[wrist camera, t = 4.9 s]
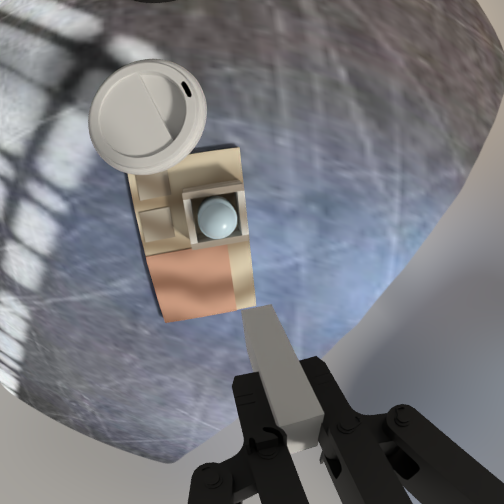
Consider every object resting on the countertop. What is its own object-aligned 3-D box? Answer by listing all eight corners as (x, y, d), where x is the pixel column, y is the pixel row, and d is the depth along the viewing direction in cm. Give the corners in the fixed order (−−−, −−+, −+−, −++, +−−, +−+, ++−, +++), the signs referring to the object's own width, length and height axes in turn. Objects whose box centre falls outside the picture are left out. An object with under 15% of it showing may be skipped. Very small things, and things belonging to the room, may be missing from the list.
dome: (194, 198, 33) (195, 209, 28) (231, 193, 33) (237, 202, 29) (200, 233, 35) (202, 248, 30) (235, 227, 35) (242, 241, 31)
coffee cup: (203, 156, 33) (212, 169, 19) (127, 166, 31) (87, 188, 18) (198, 82, 29) (205, 45, 16) (122, 93, 27) (78, 67, 14)
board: (127, 166, 31) (120, 170, 28) (238, 147, 33) (244, 148, 30) (165, 318, 41) (164, 335, 37) (255, 302, 43) (261, 318, 39)
